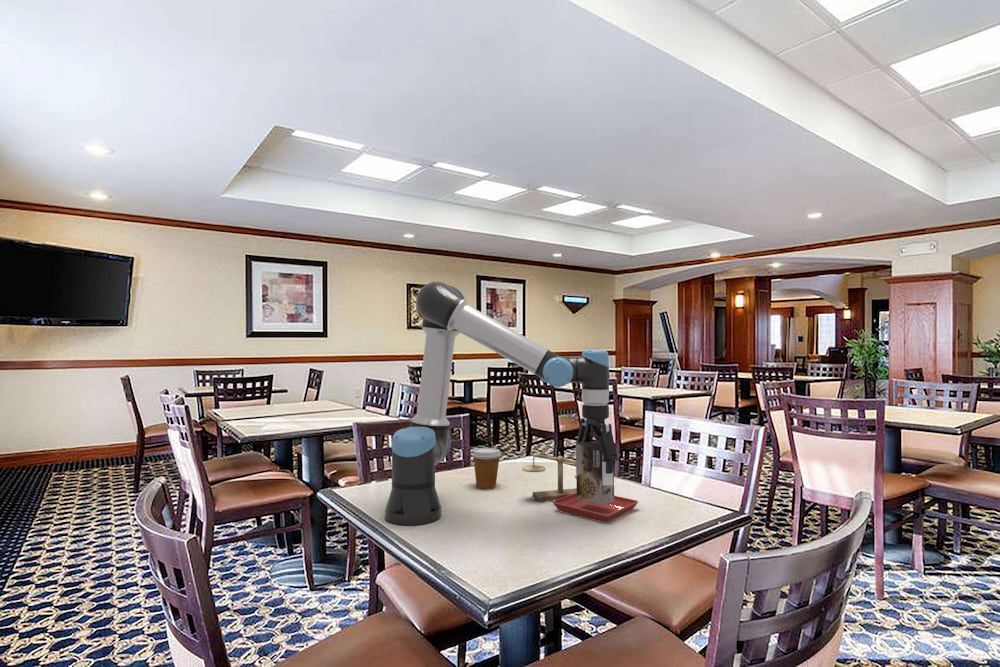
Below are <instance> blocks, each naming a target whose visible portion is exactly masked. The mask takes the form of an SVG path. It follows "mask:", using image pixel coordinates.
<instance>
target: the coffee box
mask: <svg viewBox="0 0 1000 667" xmlns="http://www.w3.org/2000/svg"><path fill="white" fill-rule="evenodd" d="M603 459H604V458H603V455H602V452H601V449H600V447H599V444H598V441H593V440H592V441H585V442H581V443H578V444H576V443H575V461H576V464H575V467H576V468H575V469H576V470H575V472H576V473H575V475H576V478H575V479H576V480H575V481H576V488H577V500H580V501H585V502H590V503H594V504H599V505H605V504H608V503H611V502H614V496H615V470H614V469H615V467H614V466H615V460H614V461H613V485H606V486H603V485H602V460H603Z"/></svg>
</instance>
